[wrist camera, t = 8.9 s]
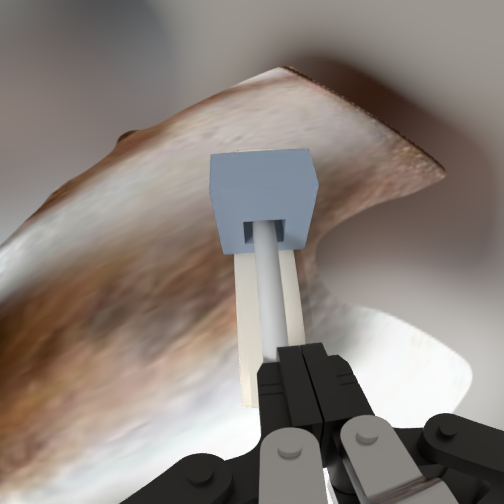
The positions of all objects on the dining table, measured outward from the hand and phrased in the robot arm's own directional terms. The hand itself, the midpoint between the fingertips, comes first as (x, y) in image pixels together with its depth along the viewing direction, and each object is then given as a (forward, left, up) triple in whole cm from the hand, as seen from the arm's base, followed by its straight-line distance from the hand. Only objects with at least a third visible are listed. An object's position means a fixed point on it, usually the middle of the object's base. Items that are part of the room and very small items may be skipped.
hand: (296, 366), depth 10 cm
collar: (0, +15, -15) cm, 22 cm away
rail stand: (0, +11, -17) cm, 20 cm away
